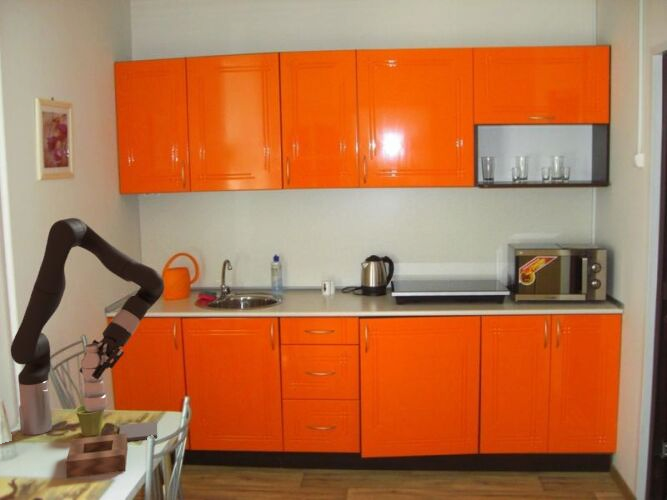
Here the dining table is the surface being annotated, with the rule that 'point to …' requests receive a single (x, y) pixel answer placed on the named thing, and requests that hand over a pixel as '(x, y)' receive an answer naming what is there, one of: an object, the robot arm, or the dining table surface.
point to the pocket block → (97, 455)
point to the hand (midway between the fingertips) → (88, 375)
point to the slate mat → (139, 430)
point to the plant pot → (89, 421)
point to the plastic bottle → (93, 380)
